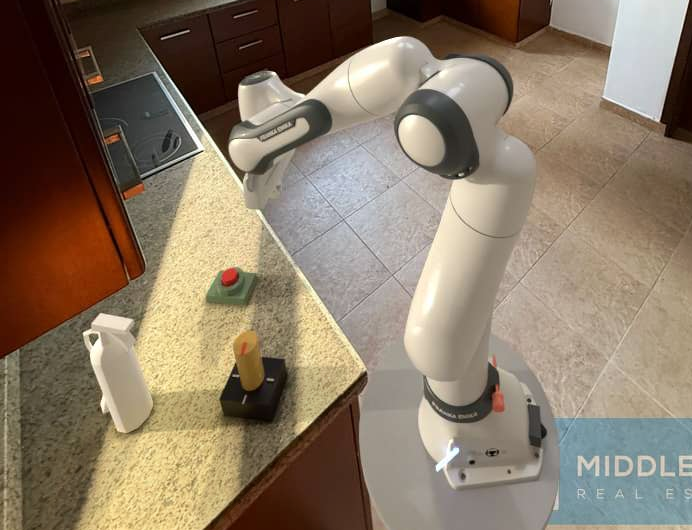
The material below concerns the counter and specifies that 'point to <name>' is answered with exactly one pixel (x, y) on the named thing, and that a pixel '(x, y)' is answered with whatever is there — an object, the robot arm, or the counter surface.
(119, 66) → the counter surface
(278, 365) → the black block
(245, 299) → the button box
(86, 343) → the white plastic jug
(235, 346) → the yellow cylinder
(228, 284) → the button
